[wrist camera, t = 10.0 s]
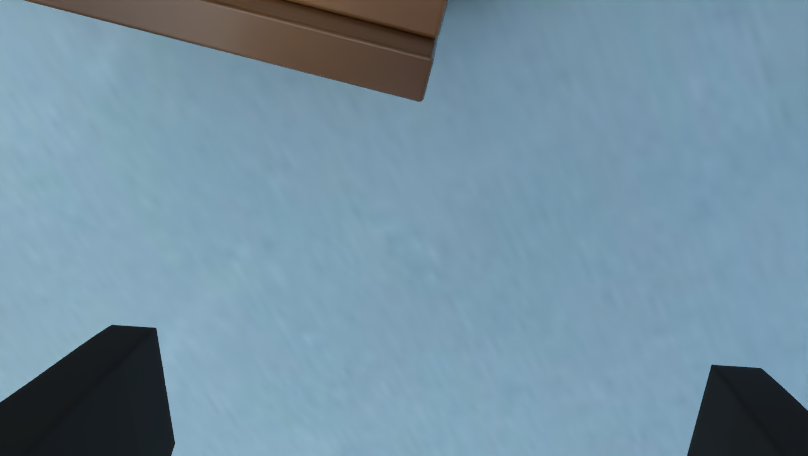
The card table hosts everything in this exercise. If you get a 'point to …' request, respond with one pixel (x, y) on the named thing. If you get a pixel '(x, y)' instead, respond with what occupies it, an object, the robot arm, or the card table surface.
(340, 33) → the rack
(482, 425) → the card table surface
